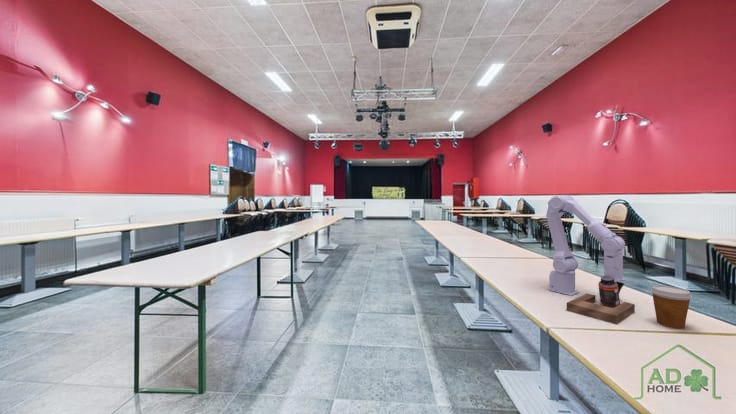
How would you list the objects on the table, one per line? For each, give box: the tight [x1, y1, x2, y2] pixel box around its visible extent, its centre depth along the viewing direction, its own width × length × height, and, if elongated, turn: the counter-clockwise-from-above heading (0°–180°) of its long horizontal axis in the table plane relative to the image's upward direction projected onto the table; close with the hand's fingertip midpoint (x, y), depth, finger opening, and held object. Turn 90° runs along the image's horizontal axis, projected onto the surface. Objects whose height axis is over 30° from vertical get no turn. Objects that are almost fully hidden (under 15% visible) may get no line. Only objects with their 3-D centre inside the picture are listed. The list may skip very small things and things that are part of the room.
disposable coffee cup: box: [650, 284, 693, 330], centre depth 94 cm, size 10×10×12 cm
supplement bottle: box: [597, 275, 621, 308], centre depth 111 cm, size 6×6×11 cm
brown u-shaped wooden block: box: [566, 293, 636, 325], centre depth 106 cm, size 15×18×3 cm
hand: (613, 300), depth 113 cm, fingers closed, pressing on supplement bottle
